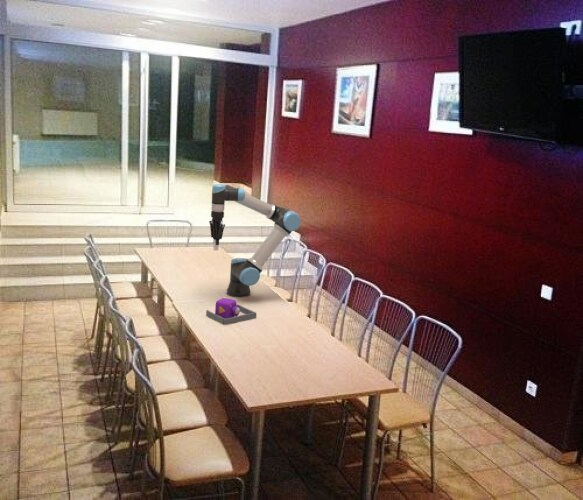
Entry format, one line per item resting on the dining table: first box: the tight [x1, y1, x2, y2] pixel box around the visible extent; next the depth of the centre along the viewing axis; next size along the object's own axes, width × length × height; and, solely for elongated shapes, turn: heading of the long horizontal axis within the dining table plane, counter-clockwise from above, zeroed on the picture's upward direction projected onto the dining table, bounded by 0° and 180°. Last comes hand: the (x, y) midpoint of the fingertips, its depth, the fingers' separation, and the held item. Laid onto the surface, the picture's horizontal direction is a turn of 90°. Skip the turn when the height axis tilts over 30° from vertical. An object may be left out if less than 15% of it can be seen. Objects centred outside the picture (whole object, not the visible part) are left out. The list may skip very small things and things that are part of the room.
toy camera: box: [214, 296, 241, 319], centre depth 336 cm, size 11×14×10 cm
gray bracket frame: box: [205, 303, 257, 326], centre depth 336 cm, size 22×18×4 cm
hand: (215, 250), depth 353 cm, fingers closed
